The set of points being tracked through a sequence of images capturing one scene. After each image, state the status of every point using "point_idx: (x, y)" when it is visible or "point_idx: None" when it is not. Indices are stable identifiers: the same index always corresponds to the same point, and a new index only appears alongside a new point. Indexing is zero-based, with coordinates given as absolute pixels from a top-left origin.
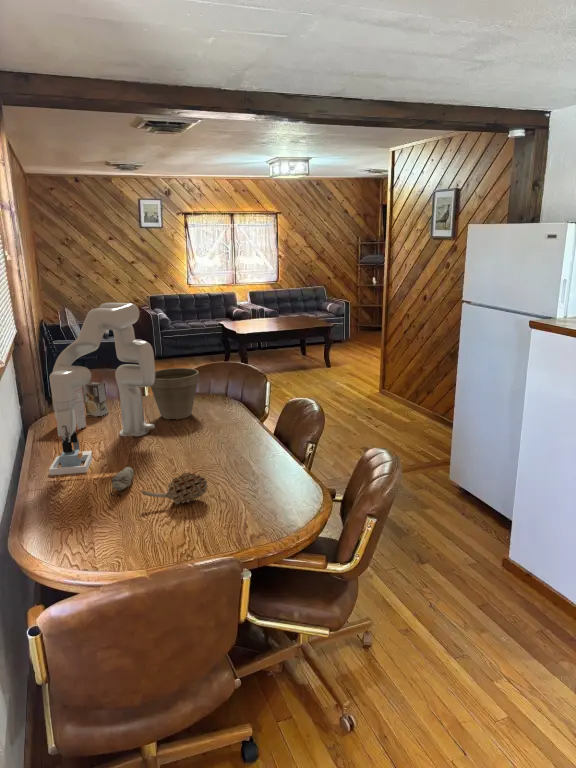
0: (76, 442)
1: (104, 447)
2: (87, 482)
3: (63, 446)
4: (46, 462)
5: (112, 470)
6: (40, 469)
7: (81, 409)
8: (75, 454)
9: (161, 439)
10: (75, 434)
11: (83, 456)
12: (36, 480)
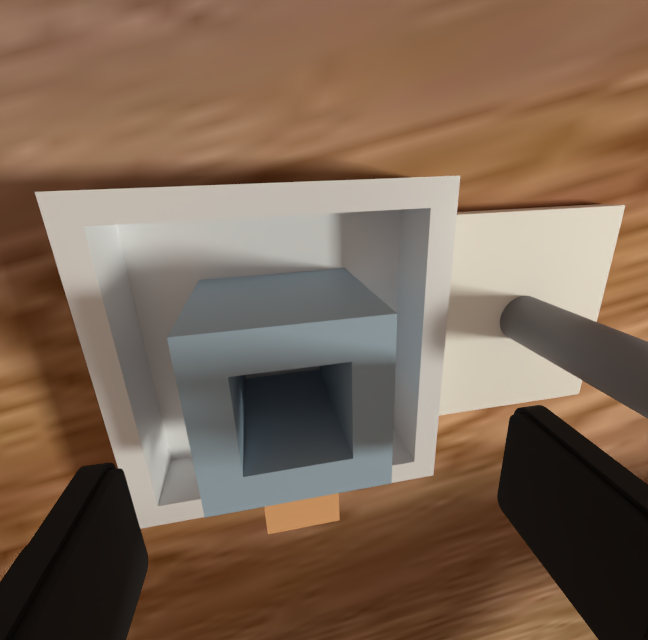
0: (614, 391)
1: (634, 420)
2: (16, 512)
3: (11, 596)
4: (505, 38)
5: (236, 576)
6: (332, 14)
7: None
8: (233, 496)
9: None
10: (601, 635)
11: (412, 418)
12: (14, 46)
